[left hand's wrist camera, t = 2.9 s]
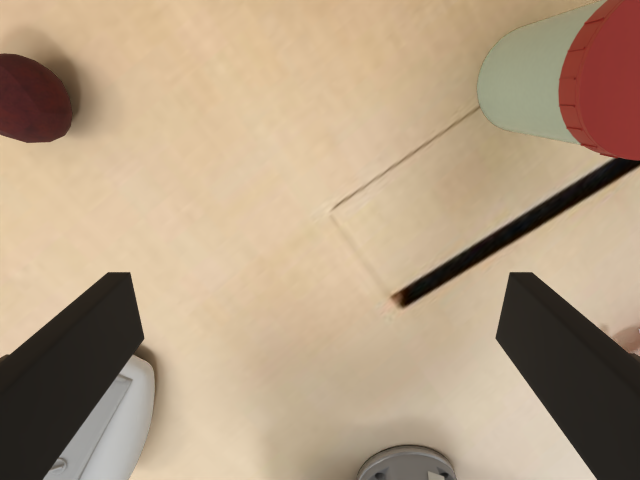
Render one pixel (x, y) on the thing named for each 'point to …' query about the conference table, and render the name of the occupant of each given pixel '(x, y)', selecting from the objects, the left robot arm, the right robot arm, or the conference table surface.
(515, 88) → the jar
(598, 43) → the lid
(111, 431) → the projector
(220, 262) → the conference table surface
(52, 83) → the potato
